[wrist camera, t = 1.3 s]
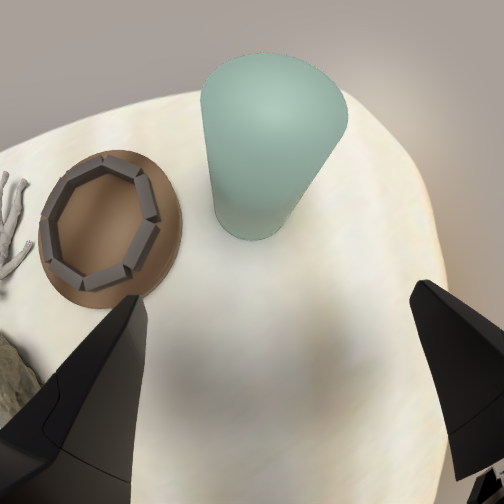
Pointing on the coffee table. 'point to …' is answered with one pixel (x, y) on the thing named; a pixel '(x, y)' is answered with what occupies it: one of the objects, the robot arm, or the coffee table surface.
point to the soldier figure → (10, 229)
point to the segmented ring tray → (109, 229)
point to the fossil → (14, 382)
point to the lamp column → (267, 137)
